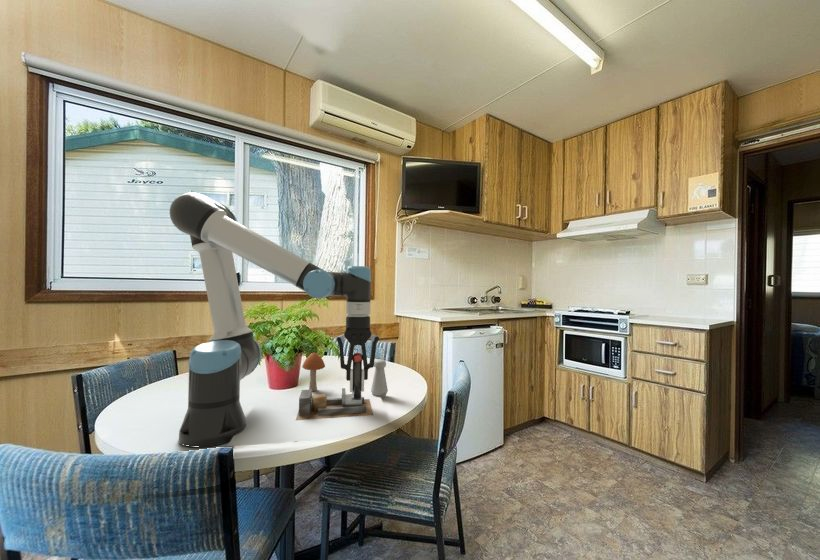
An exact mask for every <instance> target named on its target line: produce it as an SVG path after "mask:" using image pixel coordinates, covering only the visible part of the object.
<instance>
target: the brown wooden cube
mask: <svg viewBox="0 0 820 560" xmlns="http://www.w3.org/2000/svg"><path fill="white" fill-rule="evenodd" d="M327 396H328V395H327V394H324V393H318V394H313V395H312V411H313V412H318V409H319V408H326V406H327V399H328V398H327Z"/></svg>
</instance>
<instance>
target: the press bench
mask: <svg viewBox="0 0 820 560" xmlns="http://www.w3.org/2000/svg"><path fill="white" fill-rule="evenodd" d="M312 394H313V392H312V390H309V389H302V390H301V392H300V395H299V398H298V411H297V414H296V418H295V421H303V420H319V419H334V418H335V419H337V418H349V417H362V416H363V417H365V416H367V417H369V416H374V415H375V414H374V411H373V408H372V404H371V400H370V398H365V397H364V396H361V397H362V406H351V407H342V397H339V398H327V406H326V408H319V409H318V412H313V411H312V396H313V395H312Z"/></svg>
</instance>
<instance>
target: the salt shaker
mask: <svg viewBox="0 0 820 560" xmlns="http://www.w3.org/2000/svg"><path fill="white" fill-rule="evenodd" d="M386 367H387V361H386V360H384V359H375V360H374V367H373V368H374V373H373V378H372V383H371V388H370V389H371V390H370V392H371V394H372V395H373V396H375V397H380V399H382V398H383V399H385V398H386V396H387V394H388V392H389V389H388V384H387V377H386V372H385V371H386V370H385V368H386Z"/></svg>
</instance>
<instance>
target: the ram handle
mask: <svg viewBox="0 0 820 560" xmlns="http://www.w3.org/2000/svg"><path fill="white" fill-rule="evenodd" d="M362 368H363V356H362V352H354V353H353V357H352V369H353V392H351V393H350V394H347V393H346V388H345V387H343V388H341V398H342V407H351V406H362V397H363V396H362V391H361V380H362Z"/></svg>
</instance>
